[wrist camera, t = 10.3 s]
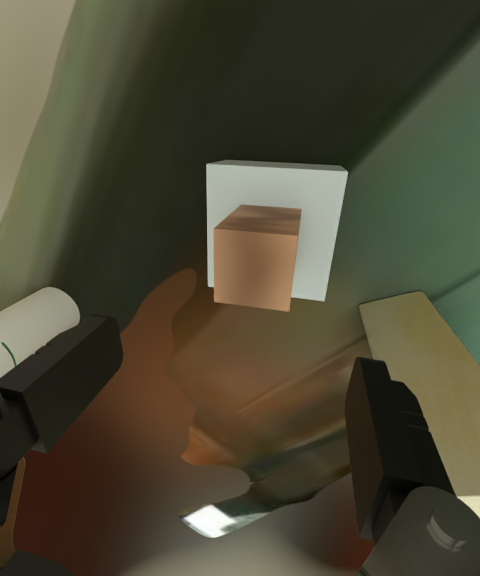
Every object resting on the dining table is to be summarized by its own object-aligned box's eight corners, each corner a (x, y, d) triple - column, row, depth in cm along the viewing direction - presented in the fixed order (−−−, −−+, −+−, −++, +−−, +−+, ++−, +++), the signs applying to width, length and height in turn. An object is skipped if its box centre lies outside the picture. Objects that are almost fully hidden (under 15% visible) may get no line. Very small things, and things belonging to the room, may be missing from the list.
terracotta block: (301, 208, 24) (298, 235, 17) (294, 266, 26) (289, 311, 19) (241, 204, 25) (213, 228, 18) (239, 260, 27) (214, 301, 20)
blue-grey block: (340, 165, 28) (348, 171, 22) (321, 272, 33) (324, 301, 27) (227, 159, 30) (206, 163, 24) (226, 261, 35) (208, 286, 29)
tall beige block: (440, 347, 34) (595, 589, 16) (373, 358, 37) (436, 578, 18) (430, 287, 31) (600, 491, 13) (357, 303, 34) (414, 495, 15)
